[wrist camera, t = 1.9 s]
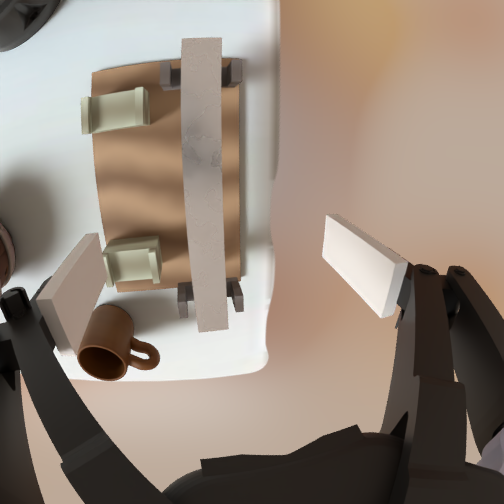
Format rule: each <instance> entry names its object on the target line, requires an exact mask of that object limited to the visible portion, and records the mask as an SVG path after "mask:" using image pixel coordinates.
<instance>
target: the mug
mask: <svg viewBox="0 0 504 504" xmlns="http://www.w3.org/2000/svg"><path fill="white" fill-rule="evenodd" d="M133 333H134V326H133V322H132V319H131V318H130V316H129V315H128V314H127V313H126V312H125V311H124V310H122V309H121V308H119V307H116V306H113V305H102V306H99V307H97V308H96V309H95V310H94V311H93V312H92V315H91V317H90V320H89V322H88V325H87V327H86V330H85V333H84V335H83V338H82V341H81V344H80V346H79V349H78V353H77V359H78V362H79V364H80V366H81V367H82V369H83V370H84V371H85V372H87V373H88V374H89V375H91V376H93V377H95V378H97V379H100V380H104V381H115V380H119V379H121V378H122V377H123V376H124V375H125V374H126V372H127V368H128V365H130V366H133V367H135V368H137V369H140V370H151V369H153V368H155V367H156V366H157V365H158V364H159V362H160V355H159V352H158V350H157V349H156V348H155V347H154V346H153V345H151V344H149V343H146V342H142V341H139V340H137V339H135V338H134V337H133ZM131 349H132V350H134V351H136V352H140V353H145V354H147V355H148V356H149V358H150V359H142V358H139V357H137V356H134V355H132V354H130V353H131Z"/></svg>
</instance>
